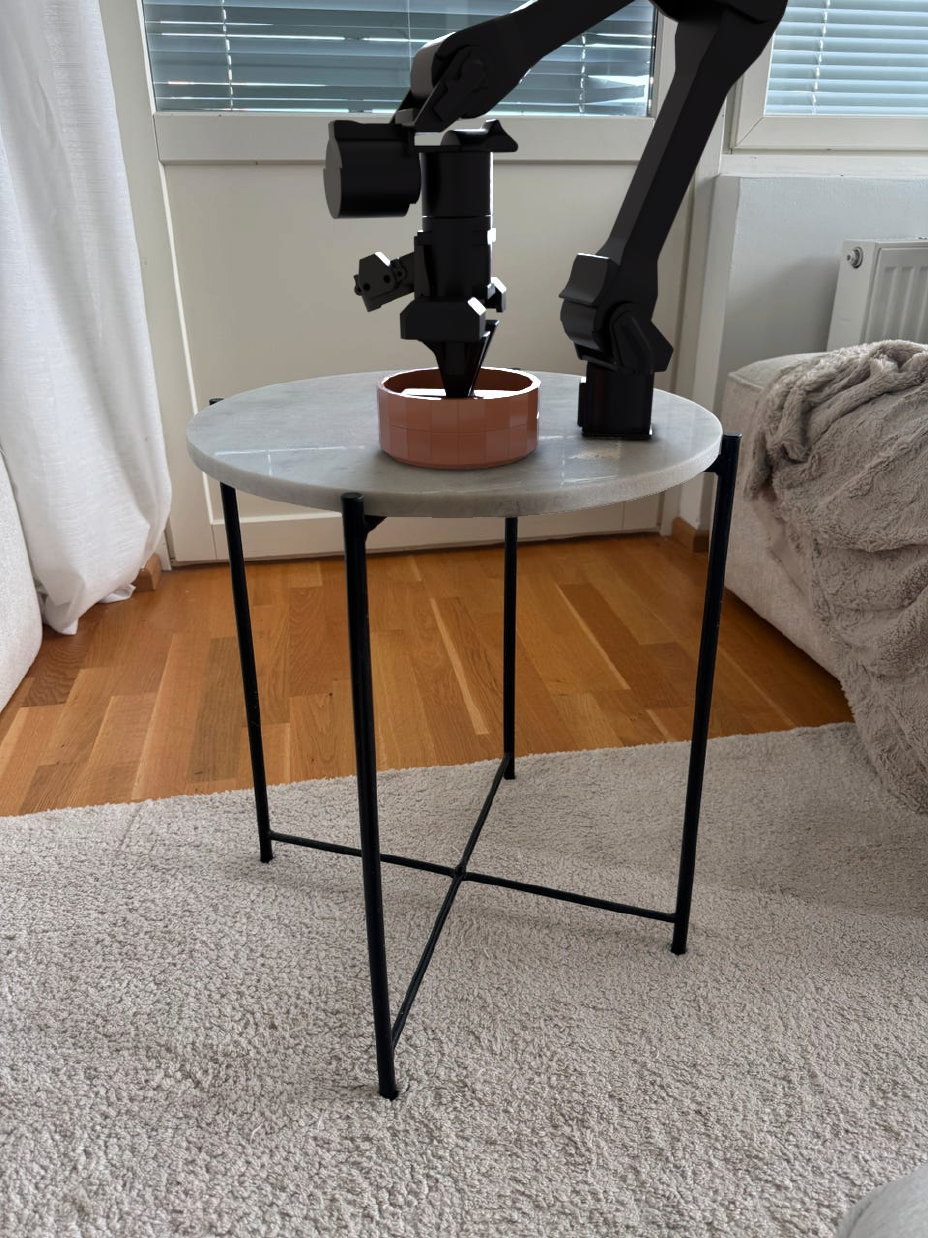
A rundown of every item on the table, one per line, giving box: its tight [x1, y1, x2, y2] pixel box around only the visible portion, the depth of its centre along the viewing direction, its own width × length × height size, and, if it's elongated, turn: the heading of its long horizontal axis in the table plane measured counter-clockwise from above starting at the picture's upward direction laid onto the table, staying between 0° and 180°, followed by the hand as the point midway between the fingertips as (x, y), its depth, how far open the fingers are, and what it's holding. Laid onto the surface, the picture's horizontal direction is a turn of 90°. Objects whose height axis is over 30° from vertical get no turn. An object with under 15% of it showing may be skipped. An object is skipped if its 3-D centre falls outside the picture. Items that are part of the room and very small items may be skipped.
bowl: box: [375, 366, 541, 471], centre depth 81 cm, size 14×14×6 cm
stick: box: [401, 389, 515, 398], centre depth 81 cm, size 10×2×2 cm, turn 81°
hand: (459, 408), depth 81 cm, fingers closed on stick, 2 cm apart
